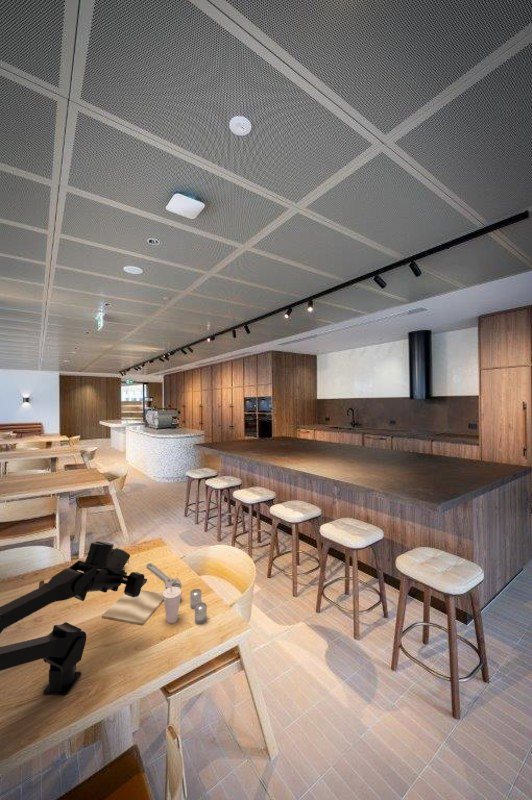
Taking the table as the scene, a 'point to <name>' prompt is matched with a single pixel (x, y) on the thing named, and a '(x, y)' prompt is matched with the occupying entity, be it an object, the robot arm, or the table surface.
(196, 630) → the table surface
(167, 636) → the table surface
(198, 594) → the posts
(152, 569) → the adjustable wrench
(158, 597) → the pad
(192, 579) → the table surface
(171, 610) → the smoothie
